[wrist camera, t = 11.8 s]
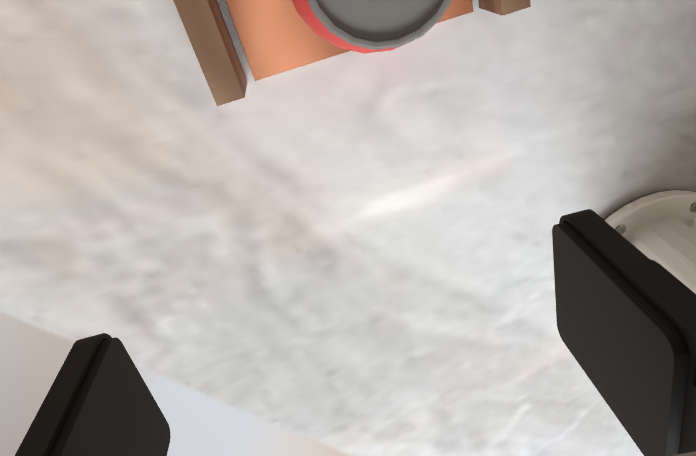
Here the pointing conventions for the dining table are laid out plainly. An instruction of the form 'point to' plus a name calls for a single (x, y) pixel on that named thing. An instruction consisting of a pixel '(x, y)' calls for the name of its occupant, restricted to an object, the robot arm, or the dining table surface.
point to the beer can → (370, 21)
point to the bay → (272, 38)
